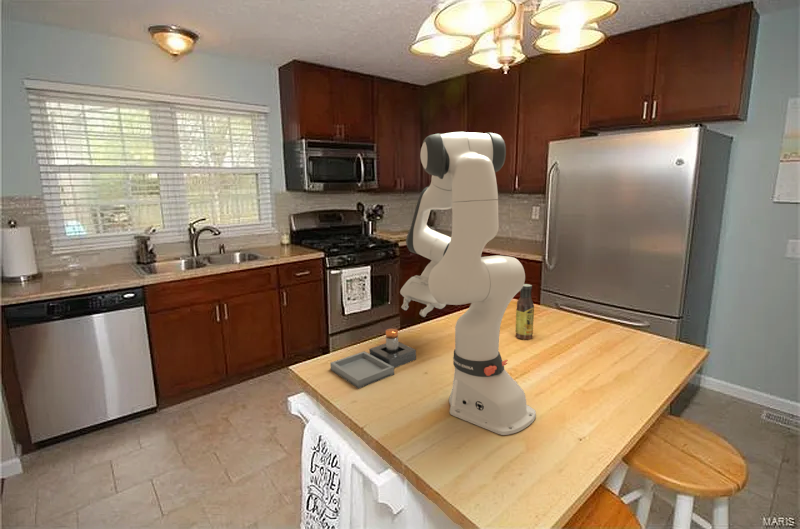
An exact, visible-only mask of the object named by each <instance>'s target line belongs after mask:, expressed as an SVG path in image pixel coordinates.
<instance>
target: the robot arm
mask: <svg viewBox="0 0 800 529" xmlns="http://www.w3.org/2000/svg"><path fill="white" fill-rule="evenodd" d="M505 142H506V141H505V140H504V139H503V137H502V136H501V135H500V134H498V133H495V132H494V133H493V132H485V133H483V132H469V131H467V132H466V131H453V132H446V133H435V134H430V135H428V136H426V137H425V138H424V140H423V141H422V146H421V148H420V157H419V158H420V162H421V164H422V168H423V170H424V172H425V173H427V174H428V175H431V178H430V180H431V182H430V184H429V185H428V186H425V188H423V189H422V191H421V192H420V194H419V196H418V199H417V203H416V205H415V210H414V213H413V218H412V220H411V224H410V228H409V230H408V232H407V234H406V238H405V244H406V247H407V249H408V251H409V252H410V253H413V254H416V255H420V256H422V257H423V258H426V259H428V260H430V262H428V264H427V265H426V266H425V267H424V268H423V269H424V270H423V271H422V273H421V275H417V274H416V275H414V276H411V277H410V278H409V279H408V280H407V281H405V283H404V284H403V286H402V287H401V289H400V291H399V293H400V295H401V296H402V297H403V303H402V305H401V307H400V308H401V309H402V310H404V311H407V310H408V309H409V307H410V306H409V303H410V302H411V301H413V302H414V301H415V302H418V303H420V304H423V305H426V307H424V308H423V309H422V308H421V309H420V311H419V315H420V316H421V317H424V318H425V317H426V316H427V314H428V313H430V312H432V311H433V310H434V308H436V309H438V310H442V309H444V308H445V307H446V306H447V305H453V306H454V305H455V306H458V305H459V306H461V305H466V304H470V306H469V308H468V309H467V310H466V311H465V312H464V313H463V314H462V315H461V316H460V317H458V319H457V321H456V322H455V325H454V332H455V334H454V342H455V343H454V344H455V346H454V347H455V348H454V350H453V357H452V360H453V362H452V363H453V367H454V373H453V381H452V388H451V391H450V395H449V398H448V402H449V405H450V408H449V414H450V415H451V416H453V417H455V418H459V419H460V420H463V421H465V422H468V423H471V424H473V425H475V426H477V427H480V428H483V429H484V430H485V429H486V430H488V431H490V432H493V433H495V434H498V435H501V436H507V435H513V434H516V433H518V432H521V431H522V430H525V429H526V428H527V427H528V426H530V425H532V423H533V422H535V419H536V416H537V413H536V410H535V409H534V408H532V407H531V406H530V405H528V404H527V399H526V393H525V391H524V389H522V387H521V386H520V385H519V384H518V382H517V381H516V380H514V378H513V377H512V376H511V375H510V374H509V372H507V370H506V369H505V366H506V365H507V364H509V363H508V359H505V360H503V358H502V356H501V352H500V351H499V346H500V345H499V344H500V329H501V324H502V320H503V318H504V314H505V312H506V311H507V308H508V306H509V304H510V303H511V301H512V300H513V298H514V297H515V296H516V295H517V294H518V293H519V292H521V289H522V287H523V285H524V284H525V281H526V273H525V269H524V266H523V264H522V263H521V262H520V261H519V259H517V258H515V257H514V256H507V255H490V256H482V253H483V251H484V248H485V247H486V245H487V243H488V242H490V241H492V240H493V239H495V237H496V236H497V234H498V232H499V228H500V227H499V226H500V225H499V193H498V192H499V191H498V184H497V176H496V173H497V172H499V171H500V170H501V169H502V168H503V166H504V164H505V161H506V156H507V146H506V143H505ZM432 210H442V211H443V210H451V216H452V217H451V219H452V221H451V225H452V226H451V236H448V235H447V234H443V233H441V232H439V231H436V230H434V229H431V228H430V227H429V226H428V224H427V223H428V219H429V217H430V213H431V211H432Z"/></svg>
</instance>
